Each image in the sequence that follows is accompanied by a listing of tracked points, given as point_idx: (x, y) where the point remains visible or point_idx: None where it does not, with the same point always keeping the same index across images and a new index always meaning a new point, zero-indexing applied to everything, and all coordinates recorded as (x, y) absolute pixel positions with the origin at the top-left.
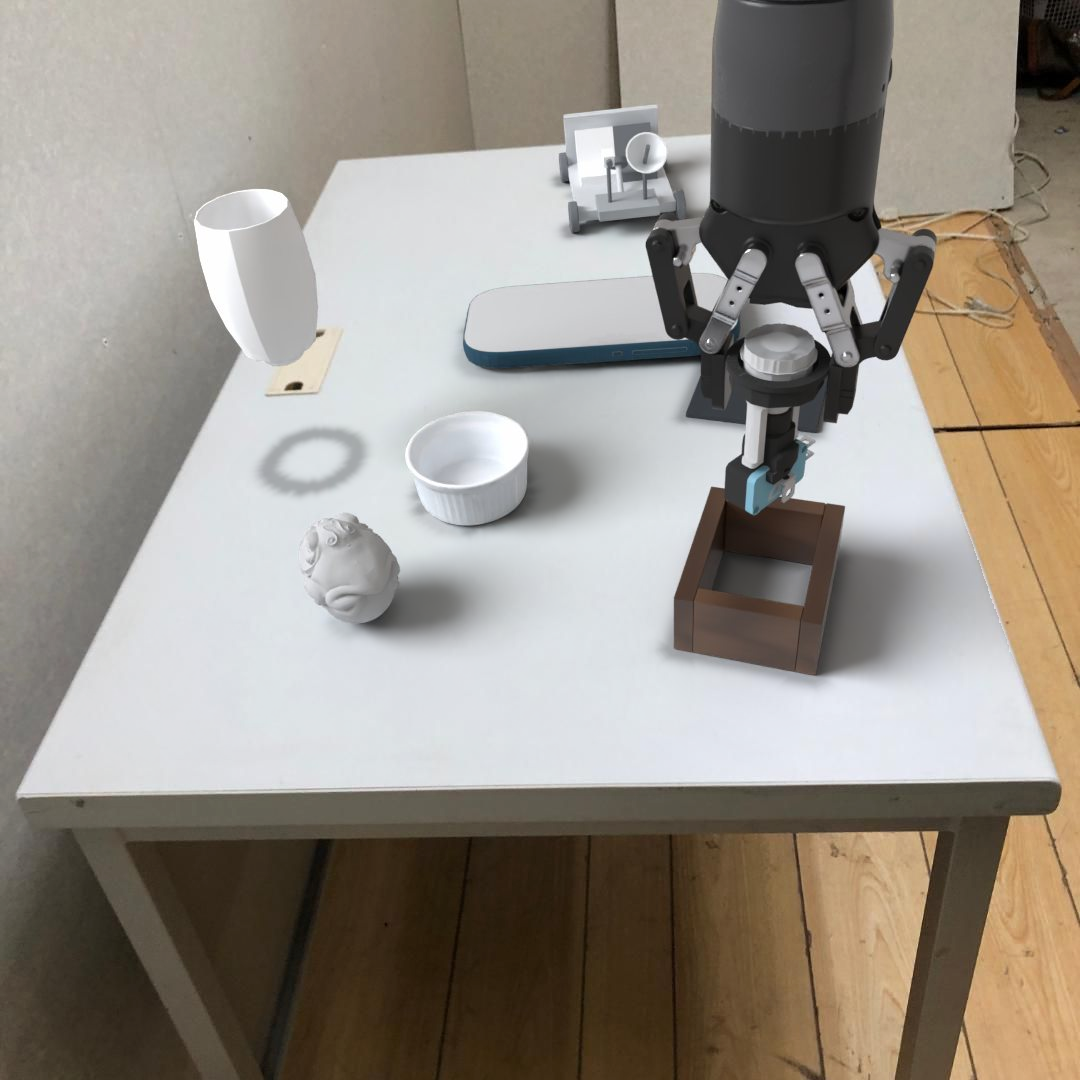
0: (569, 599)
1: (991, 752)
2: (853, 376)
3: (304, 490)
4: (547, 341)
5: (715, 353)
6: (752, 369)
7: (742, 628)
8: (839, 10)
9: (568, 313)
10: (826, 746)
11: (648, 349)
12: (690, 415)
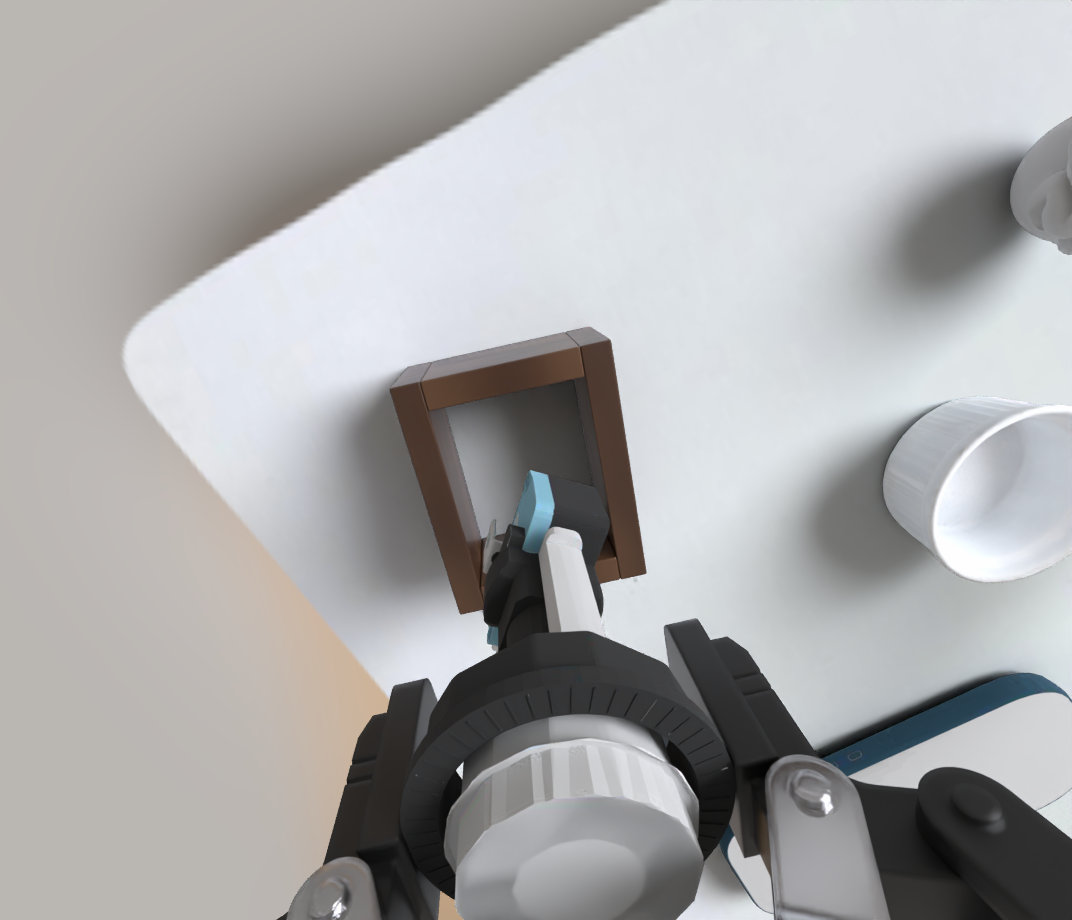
0: (755, 345)
1: (166, 348)
2: (339, 830)
3: None
4: (956, 740)
5: (770, 763)
6: (625, 742)
7: (503, 356)
8: None
9: None
10: (343, 260)
11: None
12: None
